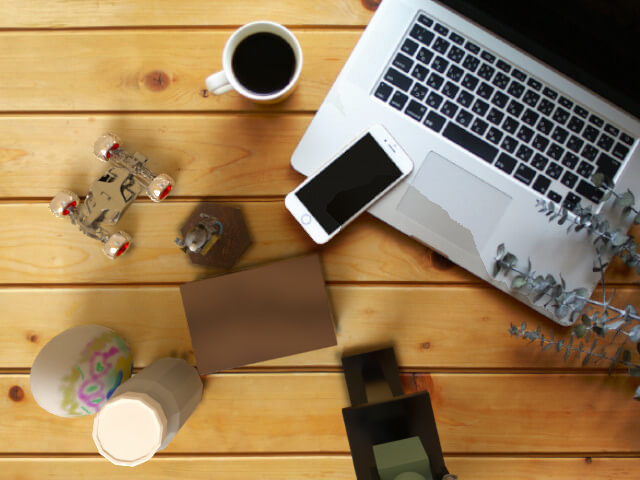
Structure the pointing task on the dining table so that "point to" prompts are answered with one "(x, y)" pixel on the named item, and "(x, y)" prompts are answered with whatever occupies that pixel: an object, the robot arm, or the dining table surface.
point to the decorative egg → (80, 370)
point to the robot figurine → (215, 236)
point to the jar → (147, 411)
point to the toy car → (112, 195)
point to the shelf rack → (258, 314)
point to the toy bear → (402, 460)
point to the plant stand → (383, 409)
